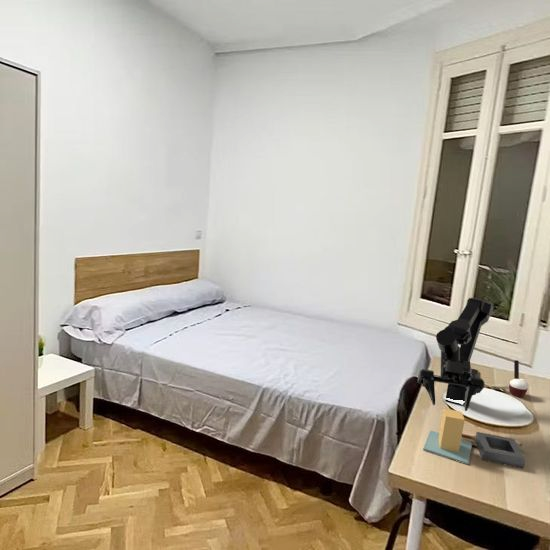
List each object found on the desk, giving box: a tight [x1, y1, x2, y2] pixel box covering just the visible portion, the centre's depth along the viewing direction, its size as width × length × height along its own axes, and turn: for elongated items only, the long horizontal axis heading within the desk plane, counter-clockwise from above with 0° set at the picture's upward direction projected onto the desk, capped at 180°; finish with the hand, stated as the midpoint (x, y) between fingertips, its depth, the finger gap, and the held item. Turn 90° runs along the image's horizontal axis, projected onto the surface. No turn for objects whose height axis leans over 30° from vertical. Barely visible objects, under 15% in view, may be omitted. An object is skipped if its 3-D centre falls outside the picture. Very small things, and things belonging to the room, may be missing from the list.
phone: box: [471, 368, 480, 378], centre depth 188 cm, size 8×1×15 cm
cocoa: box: [508, 360, 530, 398], centre depth 172 cm, size 10×6×12 cm, turn 156°
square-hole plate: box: [474, 431, 526, 469], centre depth 129 cm, size 10×10×3 cm
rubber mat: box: [422, 429, 473, 465], centre depth 131 cm, size 12×12×1 cm
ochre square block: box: [438, 408, 465, 452], centre depth 129 cm, size 5×5×10 cm
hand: (449, 407), depth 135 cm, fingers open, 9 cm apart
